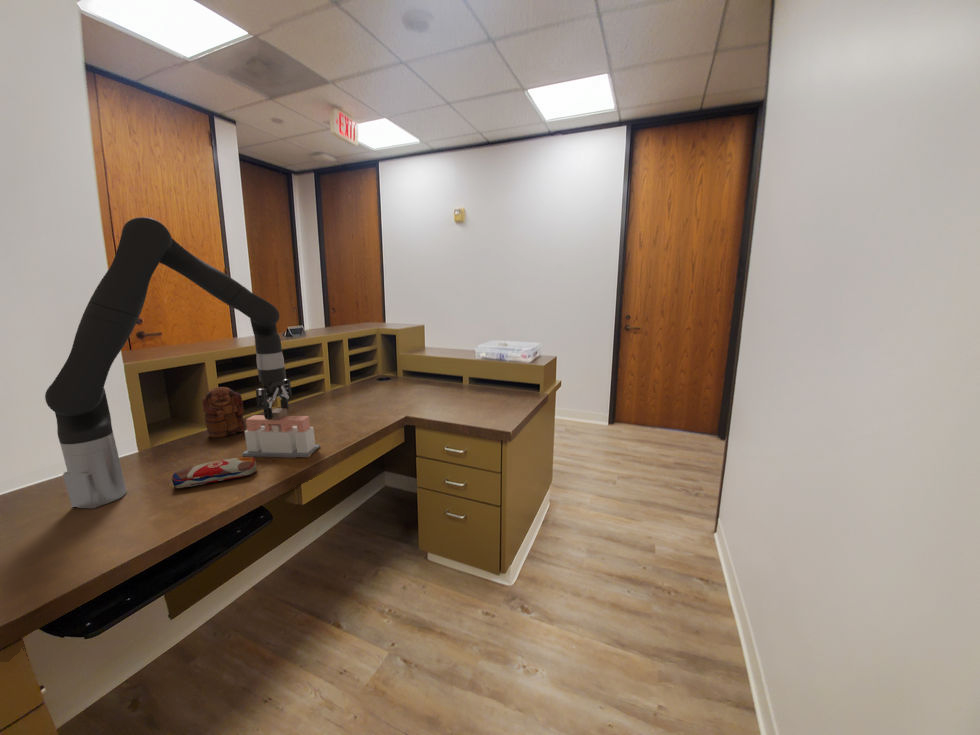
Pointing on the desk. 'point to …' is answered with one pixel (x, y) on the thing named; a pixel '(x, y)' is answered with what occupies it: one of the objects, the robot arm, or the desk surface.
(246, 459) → the pencil case
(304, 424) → the pink arch block
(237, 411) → the wooden figurine
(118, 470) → the robot arm
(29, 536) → the desk surface
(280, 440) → the white block cluster
